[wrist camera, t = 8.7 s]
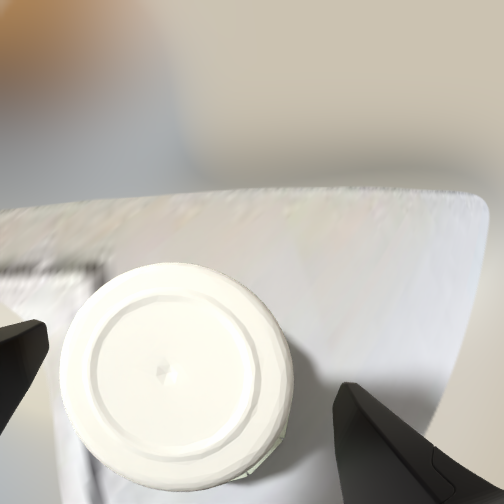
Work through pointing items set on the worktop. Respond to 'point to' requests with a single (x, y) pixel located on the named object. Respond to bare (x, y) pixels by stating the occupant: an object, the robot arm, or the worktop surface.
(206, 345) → the sprinkles bottle
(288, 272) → the worktop surface
